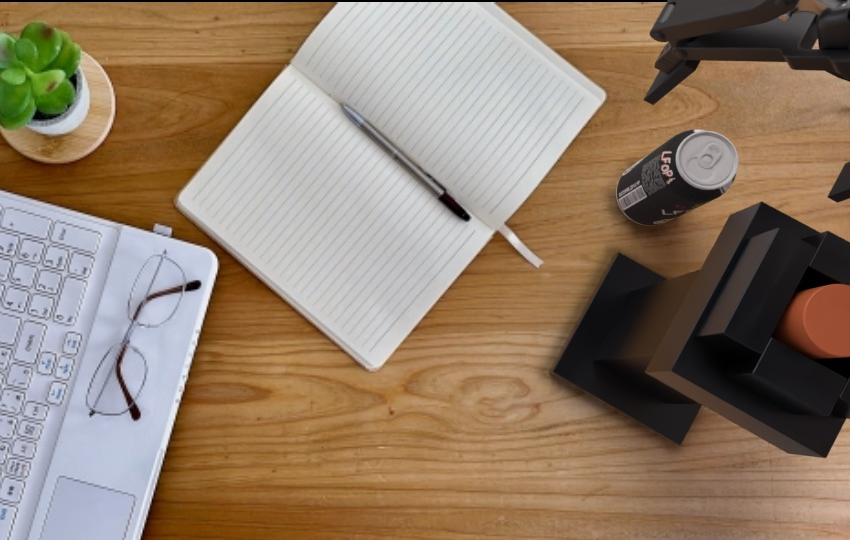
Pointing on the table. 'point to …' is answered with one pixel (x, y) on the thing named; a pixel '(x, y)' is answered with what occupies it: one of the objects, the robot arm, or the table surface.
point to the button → (817, 322)
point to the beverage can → (677, 177)
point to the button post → (717, 338)
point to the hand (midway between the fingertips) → (747, 134)
